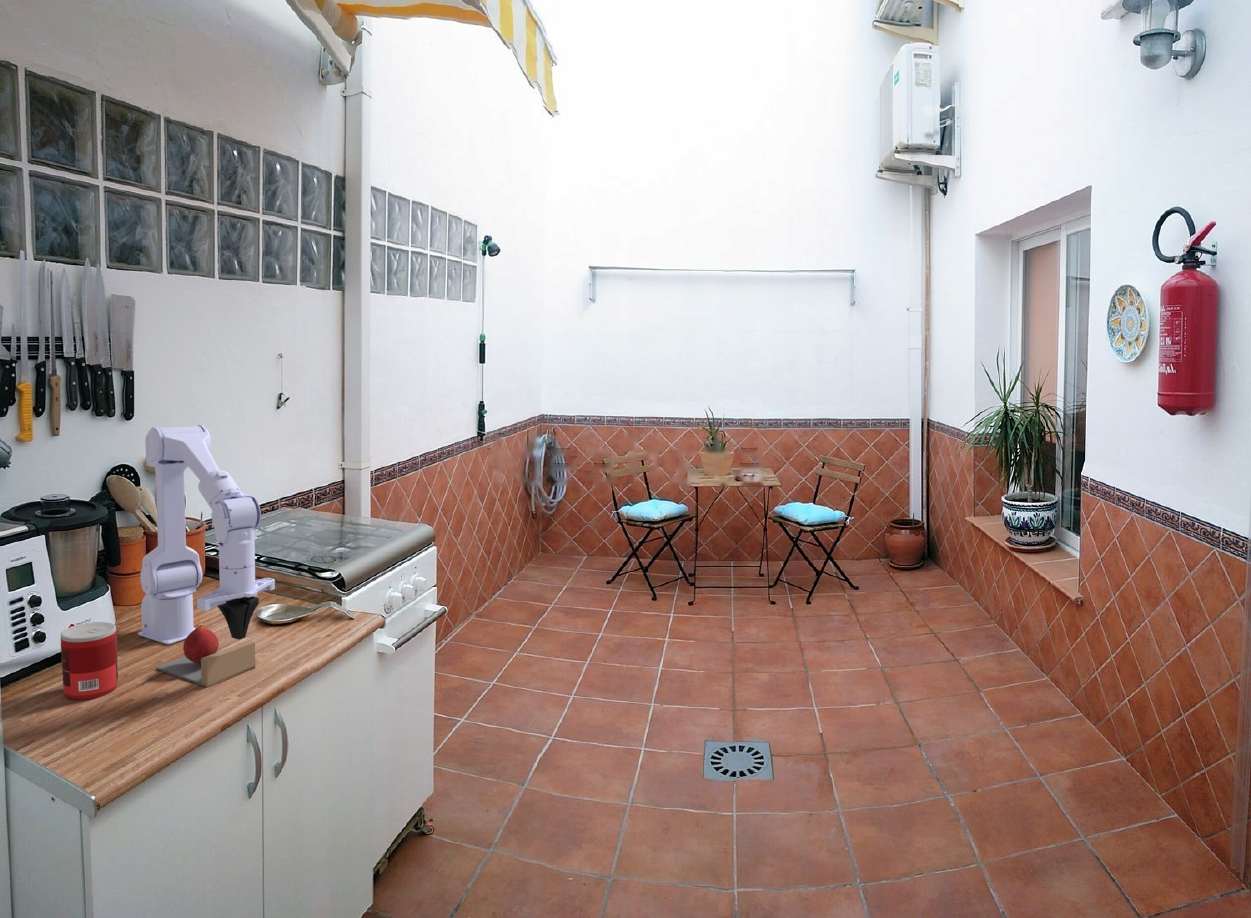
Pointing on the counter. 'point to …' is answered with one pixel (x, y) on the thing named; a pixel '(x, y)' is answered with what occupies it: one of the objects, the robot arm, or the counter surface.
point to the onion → (200, 644)
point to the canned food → (89, 660)
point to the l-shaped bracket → (214, 665)
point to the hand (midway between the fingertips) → (238, 637)
